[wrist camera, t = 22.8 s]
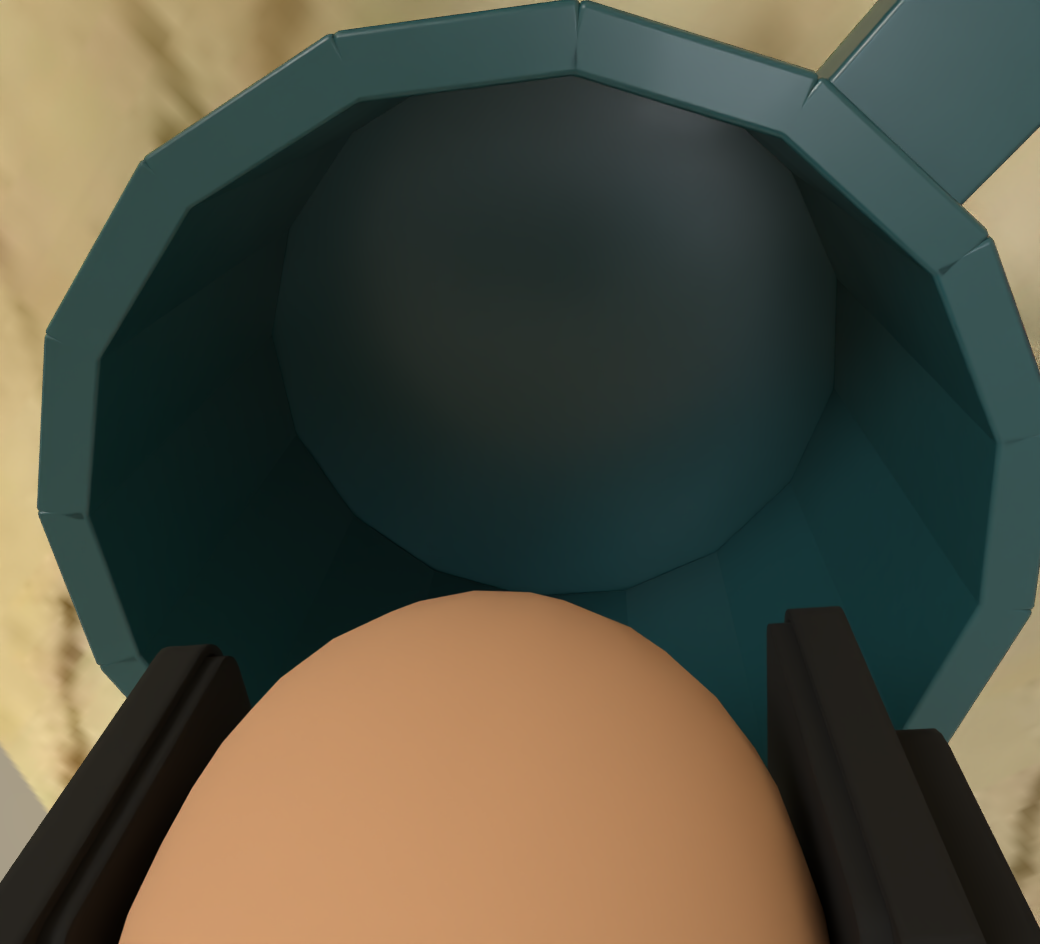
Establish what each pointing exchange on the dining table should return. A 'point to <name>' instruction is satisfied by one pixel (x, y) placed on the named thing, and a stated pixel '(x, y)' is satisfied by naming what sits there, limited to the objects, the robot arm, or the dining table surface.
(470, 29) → the pot
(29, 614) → the dining table surface
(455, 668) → the egg
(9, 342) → the dining table surface
